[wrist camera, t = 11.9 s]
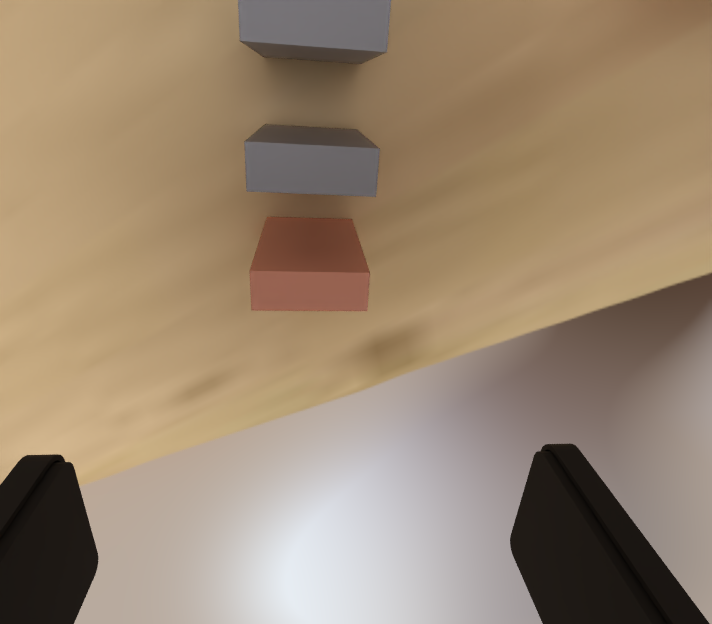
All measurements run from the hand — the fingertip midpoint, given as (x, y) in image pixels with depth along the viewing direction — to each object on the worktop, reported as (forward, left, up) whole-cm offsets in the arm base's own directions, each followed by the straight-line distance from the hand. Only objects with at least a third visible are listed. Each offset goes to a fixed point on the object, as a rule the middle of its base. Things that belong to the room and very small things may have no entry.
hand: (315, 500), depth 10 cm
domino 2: (0, -5, -20) cm, 21 cm away
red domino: (0, 0, -20) cm, 20 cm away
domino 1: (0, -10, -20) cm, 22 cm away
